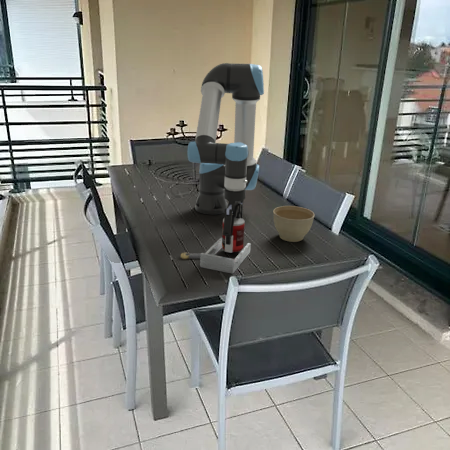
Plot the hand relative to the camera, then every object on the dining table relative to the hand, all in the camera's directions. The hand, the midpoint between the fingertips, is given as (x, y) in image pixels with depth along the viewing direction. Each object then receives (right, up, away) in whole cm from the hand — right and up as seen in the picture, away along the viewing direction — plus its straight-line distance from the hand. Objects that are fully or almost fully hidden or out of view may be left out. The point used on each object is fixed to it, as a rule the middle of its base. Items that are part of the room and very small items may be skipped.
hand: (232, 247), depth 167 cm
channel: (-2, -4, -4) cm, 6 cm away
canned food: (0, 0, 0) cm, 0 cm away
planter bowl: (+24, +3, +16) cm, 29 cm away
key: (-14, -3, -4) cm, 15 cm away
